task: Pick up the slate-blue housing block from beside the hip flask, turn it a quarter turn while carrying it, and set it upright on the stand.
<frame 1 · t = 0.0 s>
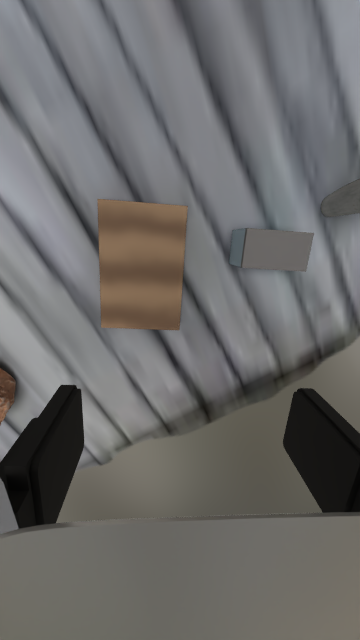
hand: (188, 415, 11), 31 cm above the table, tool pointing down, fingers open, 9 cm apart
housing: (258, 249, 40), on the table
stand: (143, 268, 39), on the table
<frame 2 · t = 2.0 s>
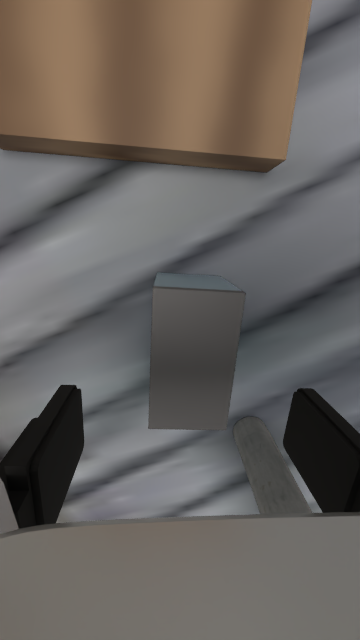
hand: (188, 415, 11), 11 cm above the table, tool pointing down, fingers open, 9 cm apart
hip flask: (267, 472, 27), on the table
housing: (185, 327, 21), on the table
stand: (141, 50, 16), on the table
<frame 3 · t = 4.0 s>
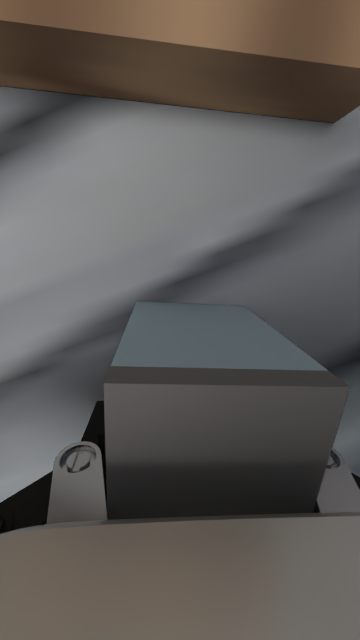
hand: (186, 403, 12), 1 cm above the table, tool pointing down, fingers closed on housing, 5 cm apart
housing: (184, 389, 13), on the table, touching gripper
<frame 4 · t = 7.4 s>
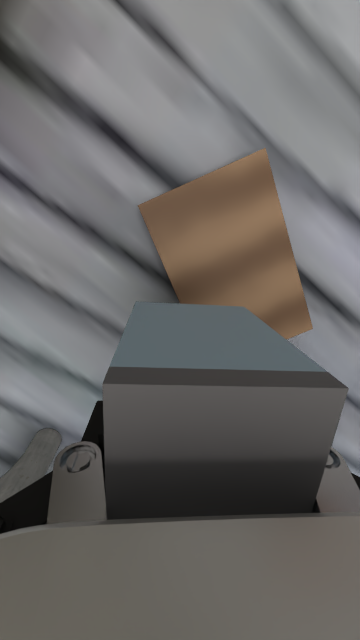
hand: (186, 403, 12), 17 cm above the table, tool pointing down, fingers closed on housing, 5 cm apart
hip flask: (23, 469, 34), on the table
housing: (184, 389, 13), point 16 cm above the table, touching gripper
stand: (226, 269, 28), on the table
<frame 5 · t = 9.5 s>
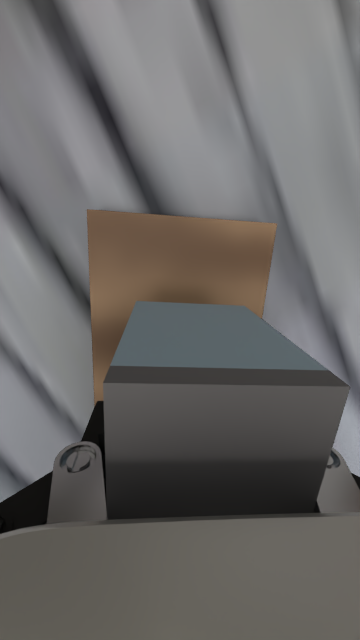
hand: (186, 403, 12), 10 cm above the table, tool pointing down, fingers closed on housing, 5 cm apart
housing: (184, 389, 13), point 9 cm above the table, touching gripper
stand: (174, 335, 21), on the table
when the fingers open (5 cm above the table, at t = 11.2 s): housing stays where it is, resting on stand.
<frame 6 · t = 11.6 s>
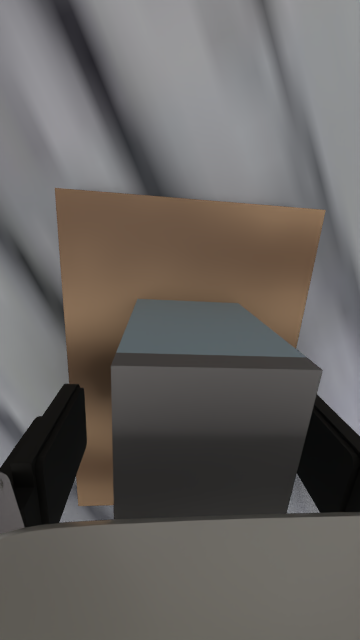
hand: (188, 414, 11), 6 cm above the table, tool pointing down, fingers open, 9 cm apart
housing: (182, 381, 14), point 3 cm above the table, touching stand
stand: (179, 356, 17), on the table
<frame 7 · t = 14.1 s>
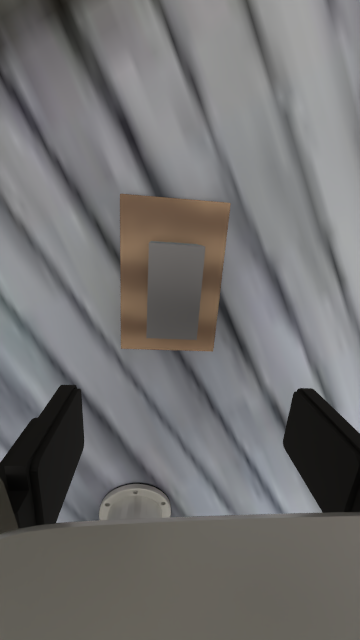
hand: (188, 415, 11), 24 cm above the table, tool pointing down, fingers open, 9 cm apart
housing: (171, 281, 30), point 3 cm above the table, touching stand
stand: (170, 277, 33), on the table
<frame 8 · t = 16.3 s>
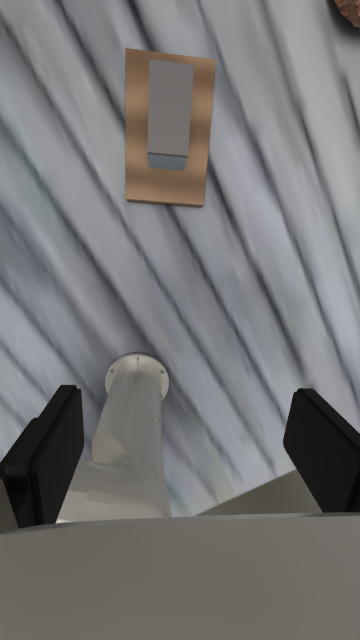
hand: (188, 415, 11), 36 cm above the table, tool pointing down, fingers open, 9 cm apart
housing: (168, 133, 36), point 3 cm above the table, touching stand
stand: (167, 141, 39), on the table
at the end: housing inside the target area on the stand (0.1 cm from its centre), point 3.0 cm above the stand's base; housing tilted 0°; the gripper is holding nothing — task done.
